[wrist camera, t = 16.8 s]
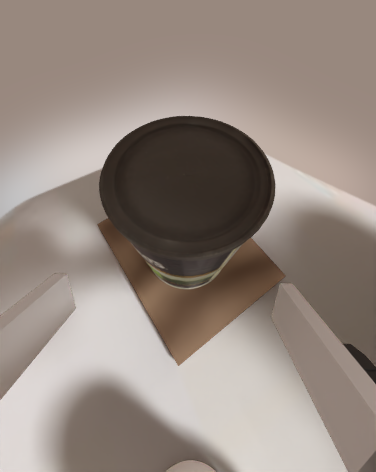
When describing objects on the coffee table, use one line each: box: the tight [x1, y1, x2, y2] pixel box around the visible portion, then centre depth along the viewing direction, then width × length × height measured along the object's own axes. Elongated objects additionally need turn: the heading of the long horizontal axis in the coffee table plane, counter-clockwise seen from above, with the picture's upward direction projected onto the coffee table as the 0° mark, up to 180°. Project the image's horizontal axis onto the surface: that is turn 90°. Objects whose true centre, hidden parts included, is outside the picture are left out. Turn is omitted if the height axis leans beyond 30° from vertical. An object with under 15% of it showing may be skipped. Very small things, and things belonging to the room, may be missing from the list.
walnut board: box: [97, 218, 285, 366], centre depth 24 cm, size 20×16×1 cm
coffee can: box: [99, 116, 275, 289], centre depth 17 cm, size 10×10×14 cm
